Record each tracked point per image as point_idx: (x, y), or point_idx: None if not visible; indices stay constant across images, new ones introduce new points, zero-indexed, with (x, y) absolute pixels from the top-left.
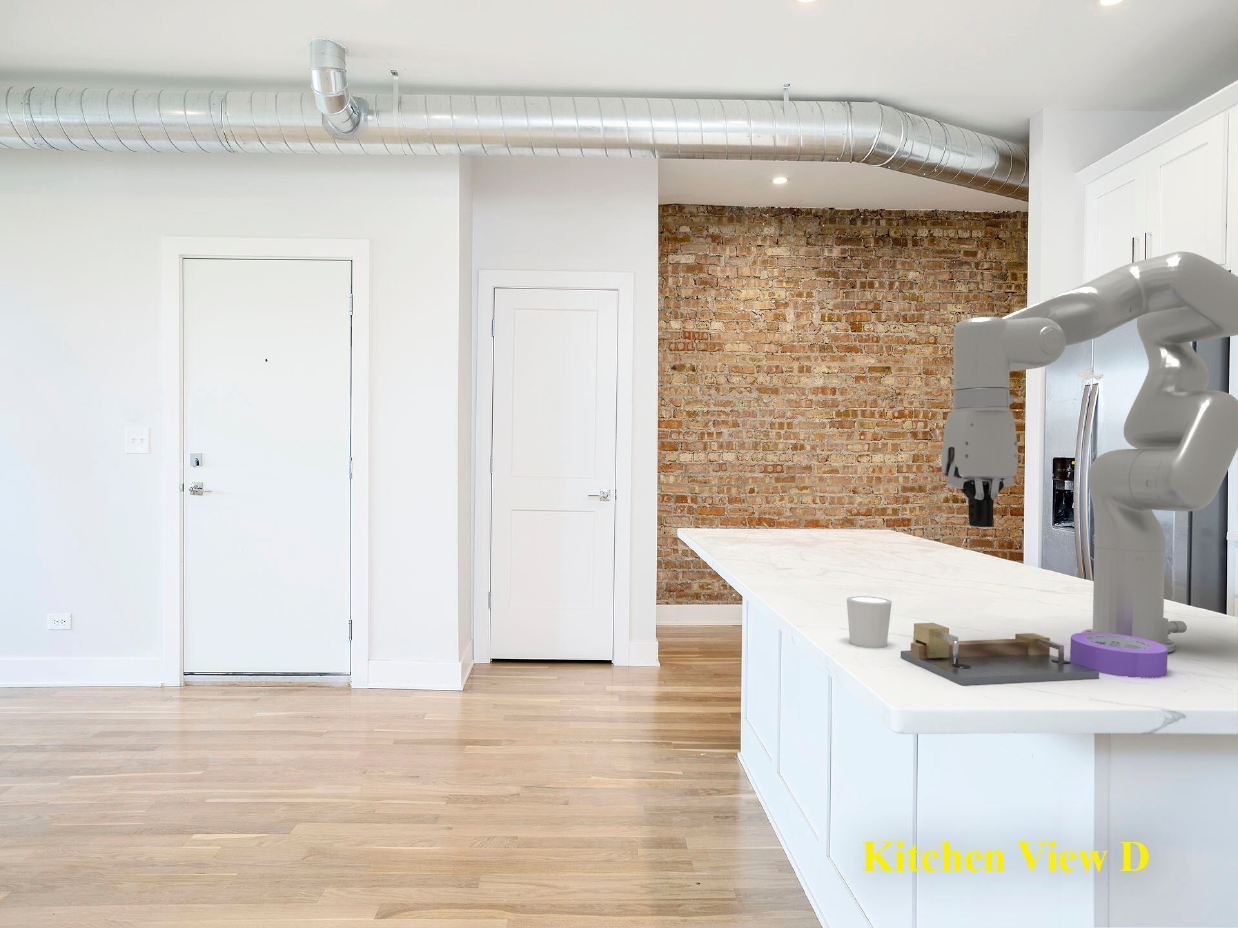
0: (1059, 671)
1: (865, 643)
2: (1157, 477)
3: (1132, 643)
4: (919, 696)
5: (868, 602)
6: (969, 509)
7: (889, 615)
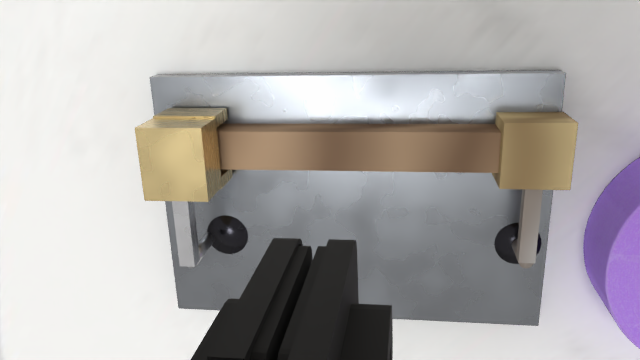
0: (433, 311)
1: None
2: None
3: None
4: (69, 337)
5: None
6: (206, 347)
7: None
